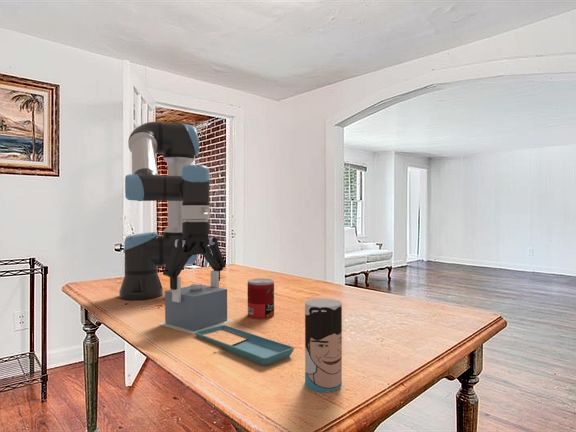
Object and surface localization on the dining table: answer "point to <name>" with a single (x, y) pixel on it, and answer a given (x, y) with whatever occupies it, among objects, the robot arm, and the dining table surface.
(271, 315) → the canned food
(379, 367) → the dining table surface
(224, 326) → the shallow long dish
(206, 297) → the cover
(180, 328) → the mat
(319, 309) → the printed grey cylinder
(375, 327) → the dining table surface
